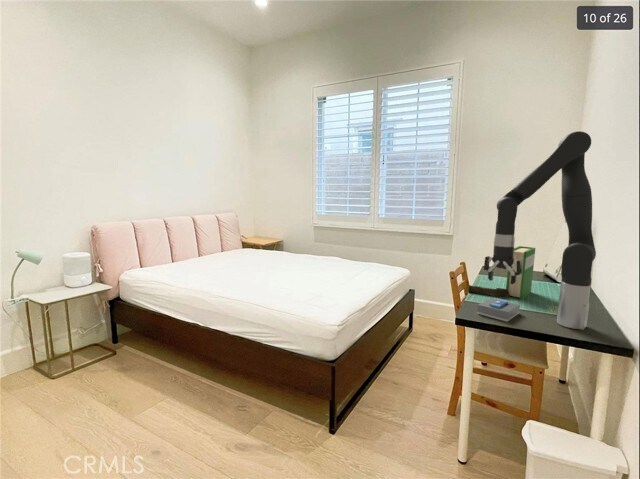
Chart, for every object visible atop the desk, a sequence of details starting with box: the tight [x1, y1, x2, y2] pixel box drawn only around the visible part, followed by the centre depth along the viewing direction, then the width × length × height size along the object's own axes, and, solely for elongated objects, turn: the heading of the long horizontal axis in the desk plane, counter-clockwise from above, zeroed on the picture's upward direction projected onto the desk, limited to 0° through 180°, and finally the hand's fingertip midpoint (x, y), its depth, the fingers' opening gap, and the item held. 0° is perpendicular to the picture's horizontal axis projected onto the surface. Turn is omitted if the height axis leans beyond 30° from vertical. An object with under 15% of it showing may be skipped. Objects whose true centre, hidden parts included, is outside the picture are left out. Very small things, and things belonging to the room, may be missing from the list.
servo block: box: [490, 298, 509, 308], centre depth 144 cm, size 4×10×5 cm, turn 133°
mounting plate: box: [476, 297, 521, 322], centre depth 144 cm, size 12×14×4 cm
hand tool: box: [468, 284, 510, 299], centre depth 170 cm, size 19×4×5 cm, turn 54°
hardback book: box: [505, 245, 536, 300], centre depth 170 cm, size 18×7×24 cm, turn 135°
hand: (501, 282), depth 142 cm, fingers open, 8 cm apart
